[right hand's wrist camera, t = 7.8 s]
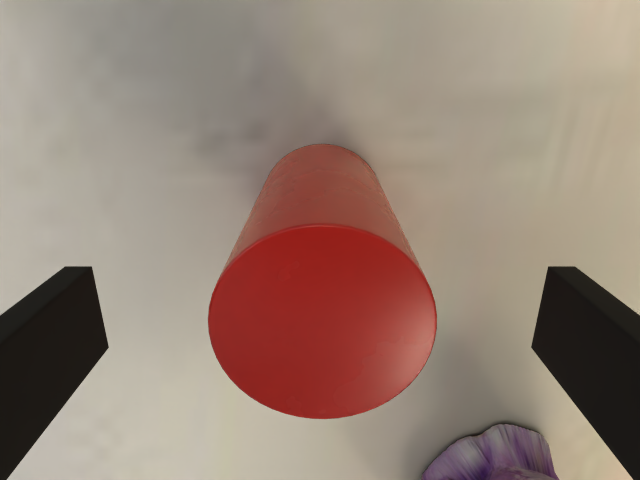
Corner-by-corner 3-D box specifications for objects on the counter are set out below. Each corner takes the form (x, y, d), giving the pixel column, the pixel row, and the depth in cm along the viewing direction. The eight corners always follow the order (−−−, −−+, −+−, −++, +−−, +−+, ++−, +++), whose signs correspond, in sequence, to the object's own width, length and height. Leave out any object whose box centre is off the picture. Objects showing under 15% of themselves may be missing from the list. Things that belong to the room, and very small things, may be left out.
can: (402, 222, 21) (475, 363, 11) (303, 277, 23) (288, 448, 12) (343, 119, 20) (366, 177, 9) (238, 184, 21) (159, 298, 11)
